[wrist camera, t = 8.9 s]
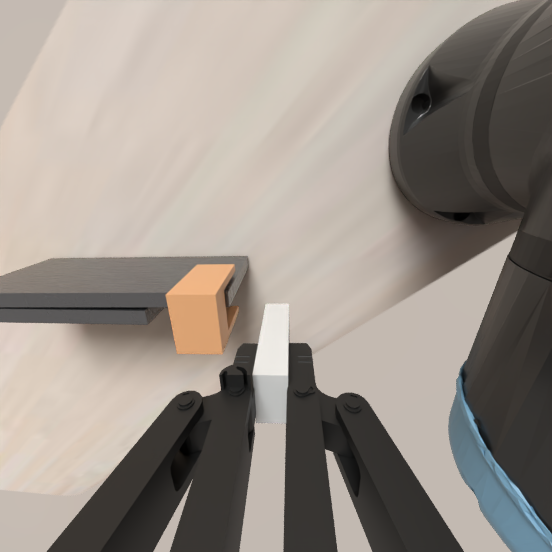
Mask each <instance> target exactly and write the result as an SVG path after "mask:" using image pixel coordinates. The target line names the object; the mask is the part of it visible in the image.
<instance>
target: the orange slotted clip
mask: <svg viewBox="0 0 552 552" xmlns="http://www.w3.org/2000/svg"><path fill="white" fill-rule="evenodd" d="M234 272H235V264H203V265H196V266H195V267H194V268H193V269H192V270H191V271H190V272H189V273H188V274H187V275H186V276H185V277H184V278H183V279H181V280H180V281H179V282H178V283H177V284H176V285H175V286H174V287H173V288H172V289H171V290H170V291H169V292H168V293H167V294H166V300H167V305H168V310H169V315H170V320H171V325H172V330H173V335H174V341H175V346H176V351H177V354H223V352H224V349H225V347H226V344H227V342H228V339H229V336H230V334H231V331H232V328H233V326H234V323H235V321H236V318H237V315H238V313H239V308H238V306H230V307H226V305H225V295H224V289H225V288H226V286H227V284H228V282H229V281H230V279H231V277H232V276H233V274H234Z"/></svg>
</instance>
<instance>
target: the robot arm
mask: <svg viewBox="0 0 552 552" xmlns="http://www.w3.org/2000/svg"><path fill="white" fill-rule="evenodd" d="M389 155H390V163H391V167H392V171H393V175H394V177H395V180H396V182H397V184H398V186H399V188H400V190H401V191H402V193H403V194H404V196H405V197H406V198H407V199H408V200H409V201H410V202H411V203H412V204H413V205H414V206H415V207H416V208H418V209H419V210H421V211H422V212H424V213H426V214H428V215H430V216H432V217H435V218H438V219H441V220H445V221H448V222H452V223H457V224H464V225H485V224H492V223H498V222H503V221H508V220H513V219H519V218H523V219H522V221H521V224H520V227H519V229H518V232H517V235H516V237H515V240H514V243H513V245H512V248H511V251H510V252H509V254H508V256H507V258H506V261H505V263H504V266H503V269H502V271H501V274H500V276H499V279H498V281H497V284H496V287H495V289H494V292H493V294H492V297H491V300H490V303H489V305H488V307H487V310H486V312H485V315H484V318H483V320H482V323H481V325H480V328H479V331H478V333H477V336H476V338H475V341H474V344H473V346H472V349H471V351H470V354H469V356H468V359H467V360H466V361H465V362H464V364H463V366H462V367H461V368H460V372H459V377H458V378H457V380H456V382H457V383H456V388H457V389H456V390H457V392H456V395H455V399H454V402H453V406H452V408H451V412H450V416H449V425H448V428H449V429H448V430H449V440H450V445H451V449H452V453H453V456H454V459H455V462H456V465H457V468H458V470H459V472H460V474H461V476H462V478H463V480H464V481H465V483H466V484H467V485H468V487H469V488H470V489H471V490H472V491H473V492H474V494H475V495H476V497H477V499H478V503H479V507H480V510H481V512H482V513H483V515H484V516H485V518H486V519H487V521H488V522H489V523H490V525H491V526H492V527H493V529H494V530H495V531H496V533H497V534H498V535H499V537H500V538H501V539H502V541H503V542H504V543H505V544H506V545H507V547H508V548H509V549H510V550H511V551H512V552H552V0H519V1H515V2H511V3H508V4H505V5H502V6H499V7H496V8H494V9H492V10H490V11H488V12H486V13H484V14H482V15H480V16H478V17H477V18H475V19H473V20H471V21H470V22H468V23H467V24H465V25H464V26H462V27H461V28H460V29H458V30H457V31H456V32H455V33H453V34H452V35H451V36H450V37H449V38H448V39H446V40H445V41H444V42H443V43H442V44H441V45H439V46H438V47H437V48H436V49H435V50H434V51H433V52H432V53H431V54H430V55H429V56H428V57H427V58H426V59H425V60H424V61H423V62H422V64H421V65H420V66H419V67H418V69H417V70H416V71H415V73H414V74H413V76H412V77H411V79H410V80H409V82H408V84H407V85H406V87H405V89H404V91H403V93H402V95H401V97H400V99H399V102H398V104H397V107H396V110H395V113H394V116H393V120H392V124H391V130H390V139H389ZM219 377H220V384H221V391H220V392H218V393H216V394H213V395H210V396H206V397H202V396H201V395H200V393H198V392H196V391H186V392H182V393H180V394H178V395H177V396H176V397H175V398H173V399H172V401H171V402H170V403H169V404H168V405H167V407H166V408H165V409H164V410H163V411H162V413H161V414H160V415H159V416H158V417H157V419H156V420H155V421H154V422H153V423H152V425H151V426H150V427H149V428H148V430H147V431H146V432H145V433H144V434H143V436H142V437H141V438H140V439H139V440H138V442H137V443H136V444H135V445H134V446H133V448H132V449H131V450H130V451H129V453H128V454H127V455H126V456H125V457H124V459H123V460H122V461H121V462H120V463H119V465H118V466H117V467H116V468H115V469H114V471H113V472H112V473H111V474H110V476H109V477H108V478H107V479H106V480H105V482H104V483H103V484H102V485H101V486H100V488H99V489H98V490H97V491H96V492H95V494H94V495H93V496H92V497H91V499H90V500H89V501H88V502H87V503H86V505H85V506H84V507H83V508H82V510H81V511H80V512H79V513H78V514H77V516H76V517H75V518H74V519H73V520H72V522H71V523H70V524H69V525H68V526H67V528H66V529H65V530H64V531H63V532H62V534H61V535H60V536H59V537H58V539H57V540H56V541H55V542H54V543H53V545H52V546H51V547H50V548H49V550H48V551H47V552H153V551H154V549H155V547H156V545H157V543H158V542H159V540H160V538H161V536H162V534H163V532H164V531H165V529H166V527H167V525H168V523H169V521H170V520H171V518H172V516H173V514H174V512H175V510H176V508H177V507H178V505H179V503H180V501H181V499H182V498H183V496H184V494H185V492H186V490H187V488H188V487H189V485H190V483H191V481H192V479H193V481H192V484H191V487H190V490H189V493H188V496H187V500H186V503H185V506H184V509H183V512H182V515H181V518H180V521H179V525H178V528H177V531H176V534H175V537H174V541H173V544H172V547H171V550H170V552H239V549H240V541H241V534H242V526H243V518H244V511H245V504H246V496H247V489H248V481H249V474H250V467H251V459H252V452H253V444H254V437H255V430H254V423H255V417H256V423H285V424H286V457H285V459H286V460H285V461H286V462H285V506H284V552H337V544H336V535H335V527H334V519H333V511H332V503H331V496H330V487H329V479H328V471H327V463H326V454H325V449H326V450H329V451H332V452H333V453H334V456H335V459H336V461H337V464H338V467H339V469H340V472H341V474H342V477H343V479H344V482H345V484H346V487H347V489H348V492H349V494H350V497H351V499H352V502H353V504H354V507H355V509H356V512H357V514H358V517H359V519H360V522H361V524H362V527H363V529H364V532H365V534H366V537H367V539H368V542H369V544H370V547H371V549H372V552H464V551H463V549H462V548H461V546H460V545H459V543H458V542H457V540H456V539H455V537H454V535H453V534H452V532H451V531H450V529H449V528H448V526H447V525H446V523H445V522H444V520H443V518H442V517H441V515H440V514H439V512H438V511H437V509H436V508H435V506H434V504H433V503H432V501H431V500H430V498H429V497H428V495H427V493H426V492H425V490H424V489H423V487H422V486H421V484H420V483H419V481H418V480H417V478H416V476H415V475H414V473H413V472H412V470H411V469H410V467H409V465H408V464H407V462H406V461H405V459H404V458H403V456H402V455H401V453H400V451H399V450H398V448H397V447H396V445H395V444H394V442H393V441H392V439H391V437H390V436H389V435H388V433H387V431H386V430H385V428H384V427H383V425H382V424H381V422H380V420H379V419H378V417H377V416H376V414H375V413H374V411H373V410H372V408H371V407H370V405H369V403H368V402H367V401H366V400H365V399H364V398H363V397H362V396H360V395H358V394H354V393H344V394H341V395H340V396H339V397H338V398H333V397H330V396H327V395H325V394H324V393H322V392H321V391H320V390H318V388H317V387H316V383H315V376H314V368H313V359H312V351H311V348H310V347H309V346H308V344H307V343H289V304H266V306H265V311H264V316H263V321H262V327H261V332H260V337H259V343H258V344H242V345H241V346H240V347H239V349H238V350H237V354H236V357H235V360H234V364H233V365H231V366H228V367H226V368H225V369H223V370H222V371H221V373H220V374H219Z"/></svg>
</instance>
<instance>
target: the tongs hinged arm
mask: <svg viewBox="0 0 552 552" xmlns="http://www.w3.org/2000/svg"><path fill="white" fill-rule="evenodd" d="M163 308H164V307H0V322H14V323H77V324H140V325H148V324H149V323H150V322H151V321H152V320H153V319H154V318H155V317H156V316H157V315H158V313H159V312H160V311H161V310H162V309H163Z"/></svg>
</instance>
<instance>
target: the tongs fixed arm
mask: <svg viewBox="0 0 552 552" xmlns="http://www.w3.org/2000/svg"><path fill="white" fill-rule="evenodd" d="M203 264H235V272H234V274H233V276H232V277H231V279H230V281H229V282H228V284H227V286H226V288H225V289H224V295H225V305H226V307H230V305H231V303H232V301H233V299H234V297H235V295H236V293H237V290H238V288H239V286H240V284H241V282H242V280H243V277H244V275H245V273H246V271H247V269H248V256H224V257H141V258H58V259H48V260H45V261H43V262H40V263H37V264H34V265H31V266H28V267H25V268H23V269H20V270H17V271H14V272H11V273H8V274H5V275H3V276H0V307H168V305H167V300H166V294H167V293H168V292H169V291H170V290H171V289H172V288H173V287H174V286H175V285H176V284H177V283H178V282H179V281H180V280H181V279H183V278H184V277H185V276H186V275H187V274H188V273H189V272H190V271H191V270H192V269H193V268H194V267H195V266H196V265H203Z"/></svg>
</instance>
